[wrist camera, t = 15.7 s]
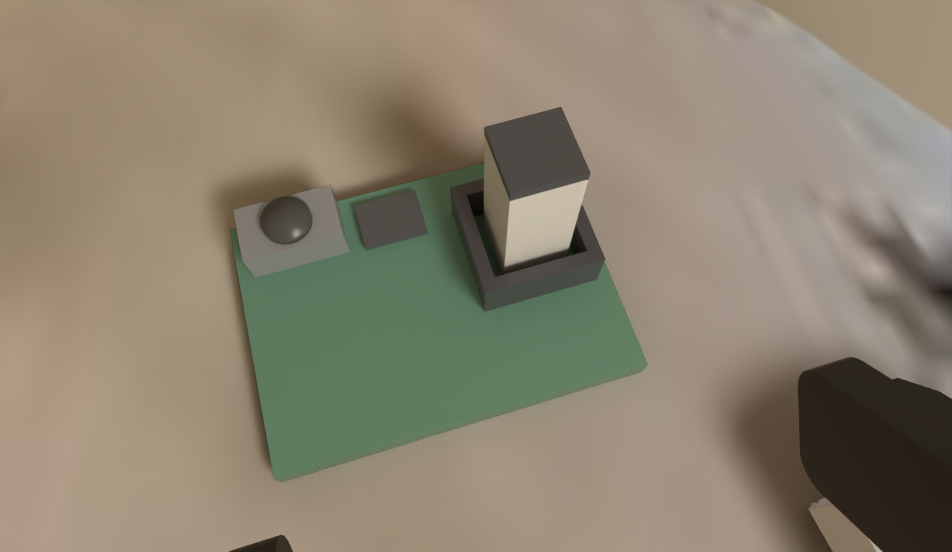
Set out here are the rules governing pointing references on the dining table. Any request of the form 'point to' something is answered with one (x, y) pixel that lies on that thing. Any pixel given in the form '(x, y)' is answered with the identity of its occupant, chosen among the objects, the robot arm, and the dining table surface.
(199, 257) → the dining table surface
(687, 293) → the dining table surface
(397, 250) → the board
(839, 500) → the robot arm
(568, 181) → the plug
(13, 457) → the dining table surface
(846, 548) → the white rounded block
